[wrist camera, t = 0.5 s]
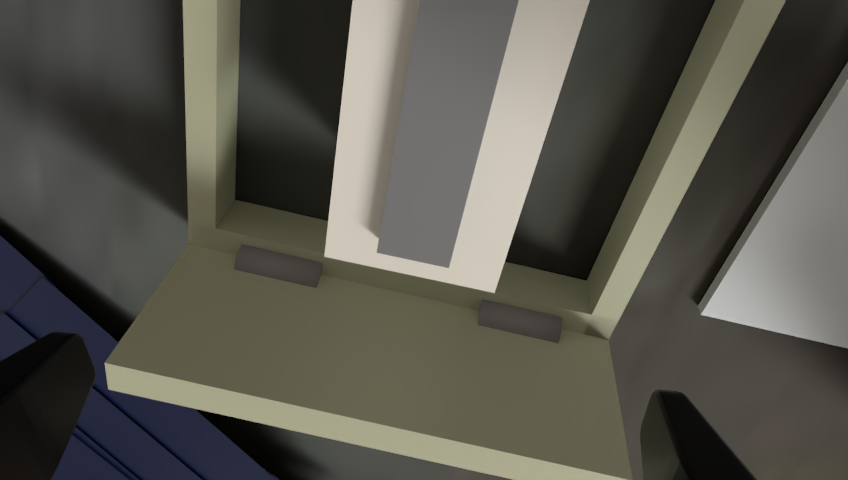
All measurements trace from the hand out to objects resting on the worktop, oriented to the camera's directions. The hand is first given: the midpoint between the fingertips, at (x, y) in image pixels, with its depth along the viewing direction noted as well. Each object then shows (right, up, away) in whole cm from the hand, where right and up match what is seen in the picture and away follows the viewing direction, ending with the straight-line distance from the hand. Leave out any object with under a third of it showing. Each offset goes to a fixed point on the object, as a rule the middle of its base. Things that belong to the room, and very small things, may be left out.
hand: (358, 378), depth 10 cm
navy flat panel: (-18, -10, +27) cm, 34 cm away
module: (+2, +9, +10) cm, 14 cm away
